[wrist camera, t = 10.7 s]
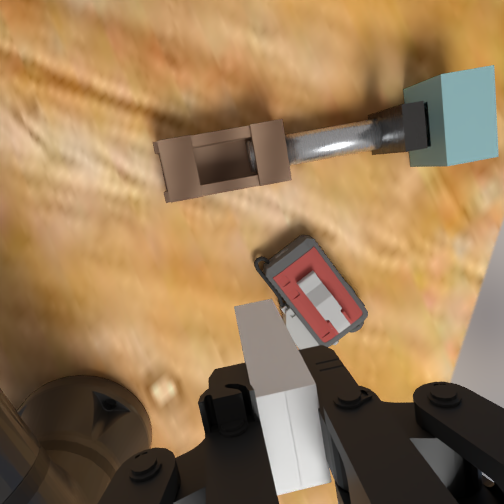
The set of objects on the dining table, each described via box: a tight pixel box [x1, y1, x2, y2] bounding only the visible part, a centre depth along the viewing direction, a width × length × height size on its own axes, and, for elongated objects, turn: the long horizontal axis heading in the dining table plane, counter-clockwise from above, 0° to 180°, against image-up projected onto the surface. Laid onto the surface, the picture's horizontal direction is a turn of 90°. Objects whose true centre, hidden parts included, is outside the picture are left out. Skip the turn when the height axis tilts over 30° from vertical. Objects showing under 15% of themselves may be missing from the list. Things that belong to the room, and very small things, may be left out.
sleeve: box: [153, 119, 292, 203], centre depth 40 cm, size 12×6×5 cm, turn 100°
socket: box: [403, 65, 498, 167], centre depth 41 cm, size 5×8×7 cm, turn 10°
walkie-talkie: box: [254, 235, 368, 350], centre depth 45 cm, size 9×4×20 cm
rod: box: [246, 101, 431, 172], centre depth 39 cm, size 20×4×8 cm, turn 100°
